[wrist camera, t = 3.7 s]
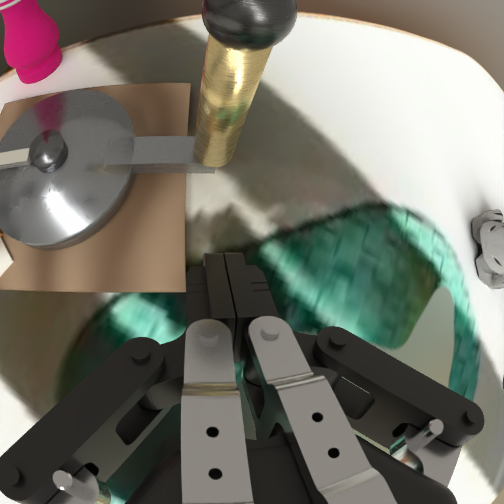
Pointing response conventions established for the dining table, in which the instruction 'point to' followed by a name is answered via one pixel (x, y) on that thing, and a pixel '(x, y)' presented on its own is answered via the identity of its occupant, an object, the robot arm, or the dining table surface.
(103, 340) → the dining table surface
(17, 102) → the stand
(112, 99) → the turntable
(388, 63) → the dining table surface
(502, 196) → the dining table surface
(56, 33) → the pepper mill
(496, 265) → the car model
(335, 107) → the dining table surface
